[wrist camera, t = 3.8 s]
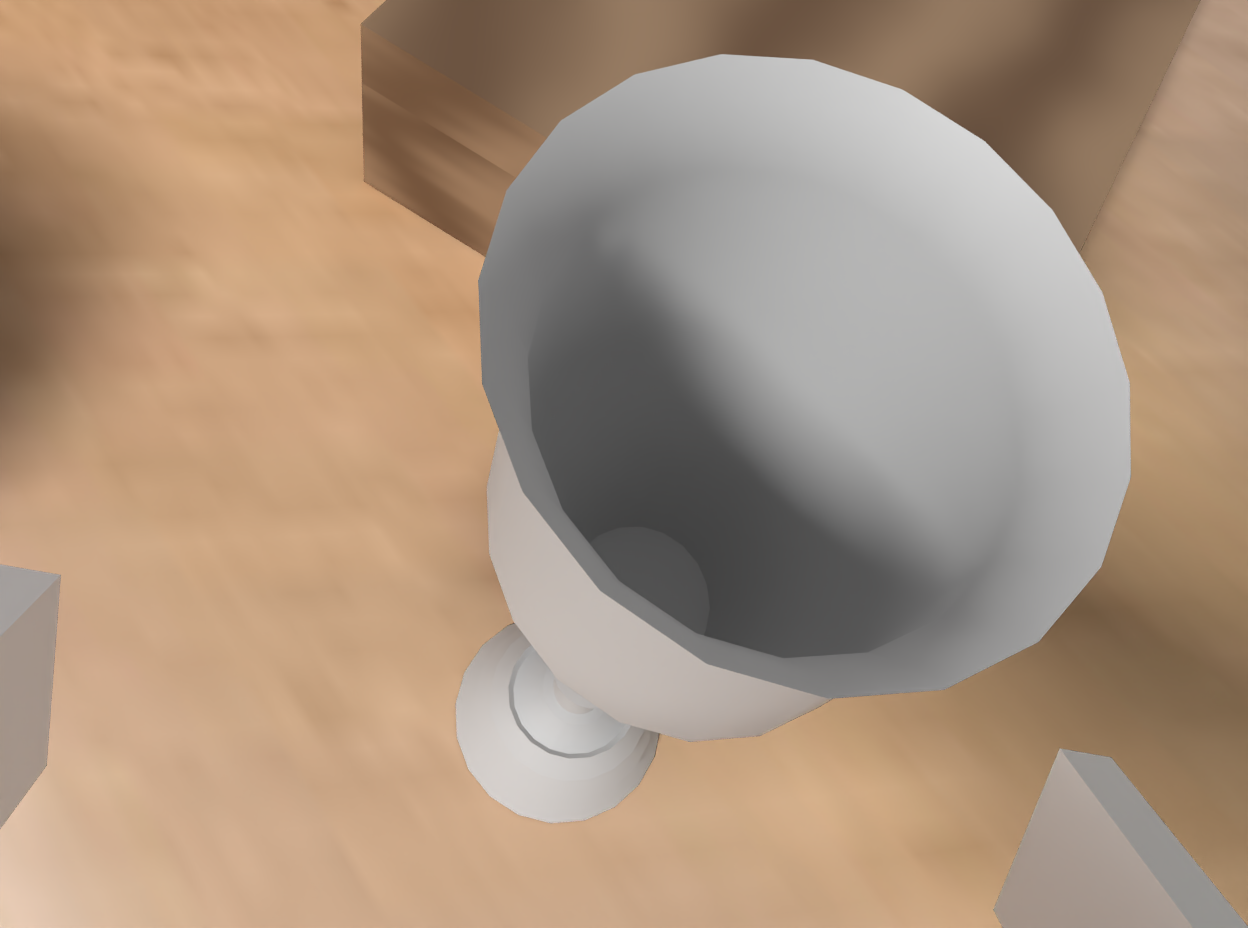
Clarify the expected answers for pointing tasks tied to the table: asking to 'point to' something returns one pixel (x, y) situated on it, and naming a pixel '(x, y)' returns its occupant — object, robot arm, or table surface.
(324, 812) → the table surface
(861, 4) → the walnut shelf
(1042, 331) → the chalice
